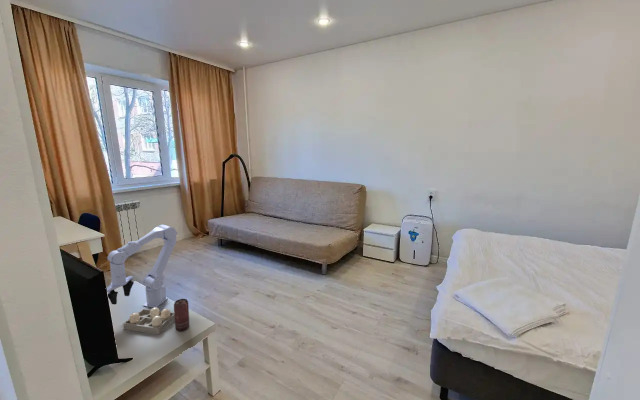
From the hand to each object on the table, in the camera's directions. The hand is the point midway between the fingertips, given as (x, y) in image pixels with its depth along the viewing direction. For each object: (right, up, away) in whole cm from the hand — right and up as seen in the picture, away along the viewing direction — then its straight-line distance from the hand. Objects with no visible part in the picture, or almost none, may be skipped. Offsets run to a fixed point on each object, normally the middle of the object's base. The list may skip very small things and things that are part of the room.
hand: (120, 299), depth 135 cm
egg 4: (+23, -10, 0) cm, 25 cm away
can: (+33, -12, -5) cm, 36 cm away
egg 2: (+17, -9, 0) cm, 20 cm away
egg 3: (+22, -11, -6) cm, 25 cm away
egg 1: (+10, -10, -5) cm, 15 cm away
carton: (+17, -11, -2) cm, 20 cm away
